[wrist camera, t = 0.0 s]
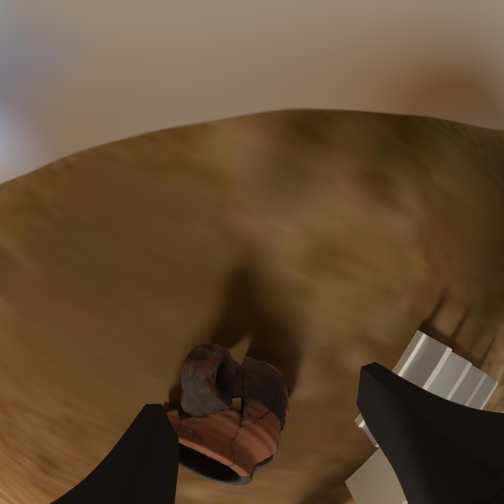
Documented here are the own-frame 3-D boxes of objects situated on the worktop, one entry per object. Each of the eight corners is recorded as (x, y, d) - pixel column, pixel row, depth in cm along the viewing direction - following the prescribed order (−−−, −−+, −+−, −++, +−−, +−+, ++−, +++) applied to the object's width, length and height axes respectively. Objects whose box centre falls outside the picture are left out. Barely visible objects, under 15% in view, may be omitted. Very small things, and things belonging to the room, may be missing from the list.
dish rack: (432, 438, 22) (448, 455, 18) (354, 420, 21) (371, 445, 17) (479, 371, 22) (499, 383, 18) (417, 329, 20) (445, 344, 16)
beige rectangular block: (357, 482, 22) (381, 526, 14) (344, 481, 22) (368, 528, 14) (396, 443, 22) (431, 485, 14) (385, 440, 21) (420, 486, 14)
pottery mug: (302, 417, 21) (276, 498, 14) (207, 404, 24) (169, 468, 17) (283, 308, 17) (233, 420, 10) (161, 305, 20) (90, 376, 13)
